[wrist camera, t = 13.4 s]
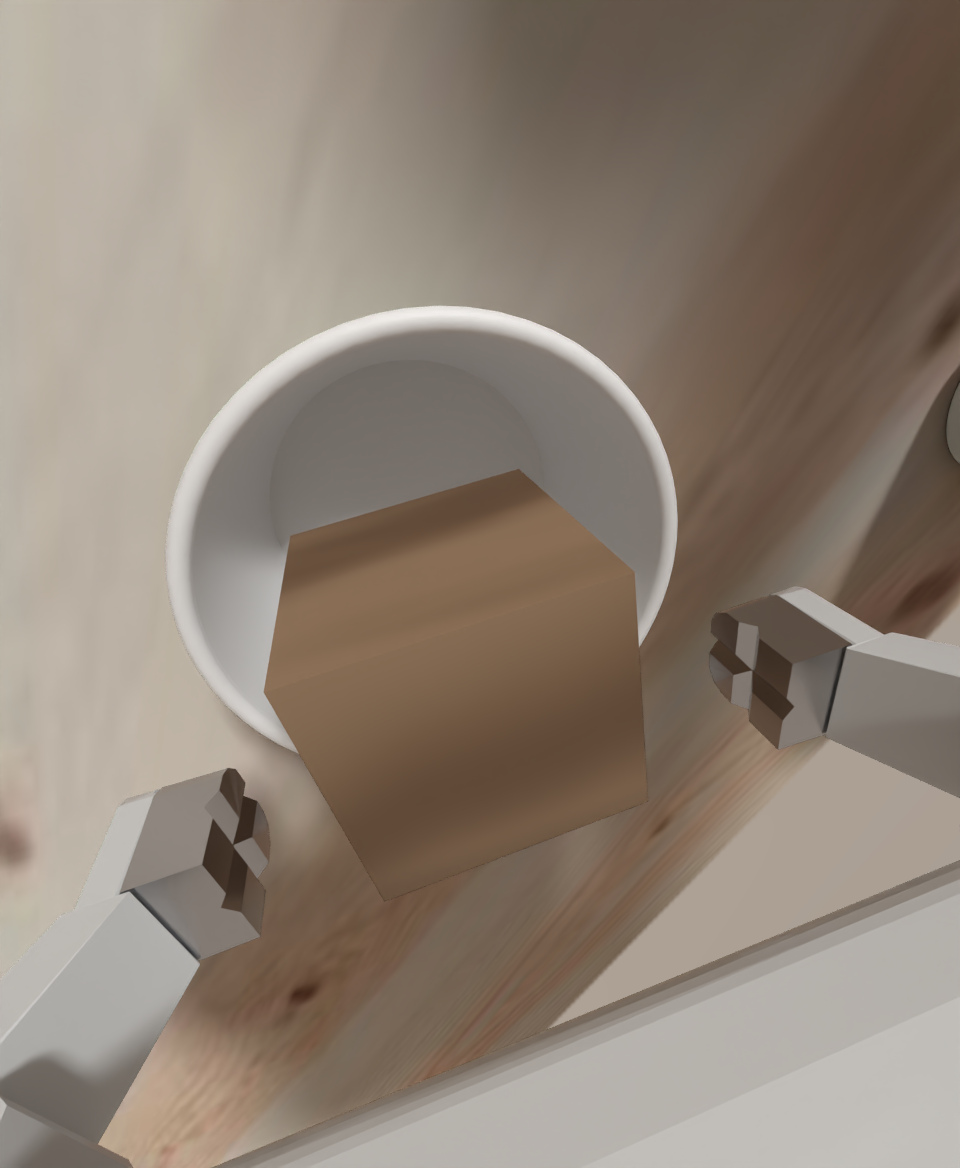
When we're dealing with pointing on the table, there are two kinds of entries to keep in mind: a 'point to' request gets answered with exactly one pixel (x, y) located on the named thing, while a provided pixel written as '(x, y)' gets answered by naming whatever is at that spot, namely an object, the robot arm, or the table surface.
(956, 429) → the beer can
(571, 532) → the walnut block
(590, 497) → the food container
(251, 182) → the table surface
